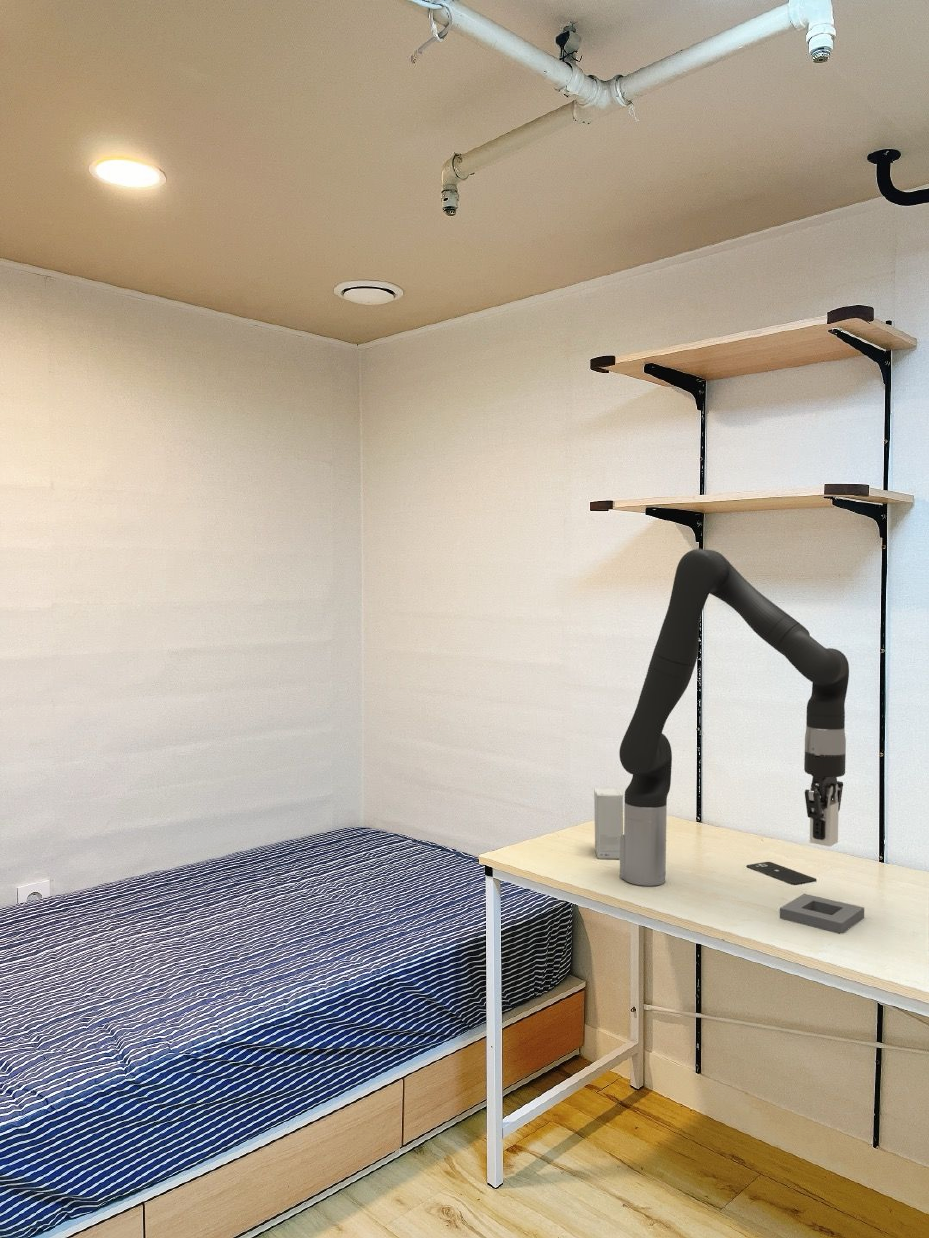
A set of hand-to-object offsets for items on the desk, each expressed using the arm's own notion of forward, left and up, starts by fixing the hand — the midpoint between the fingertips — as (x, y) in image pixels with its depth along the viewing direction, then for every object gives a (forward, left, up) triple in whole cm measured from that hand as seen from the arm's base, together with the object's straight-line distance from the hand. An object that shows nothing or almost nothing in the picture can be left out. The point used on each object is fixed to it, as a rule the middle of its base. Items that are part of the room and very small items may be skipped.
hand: (823, 836), depth 179 cm
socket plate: (0, 0, -16) cm, 16 cm away
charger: (0, 0, -1) cm, 1 cm away
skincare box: (-55, +7, -17) cm, 58 cm away
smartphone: (-18, +22, -17) cm, 33 cm away
